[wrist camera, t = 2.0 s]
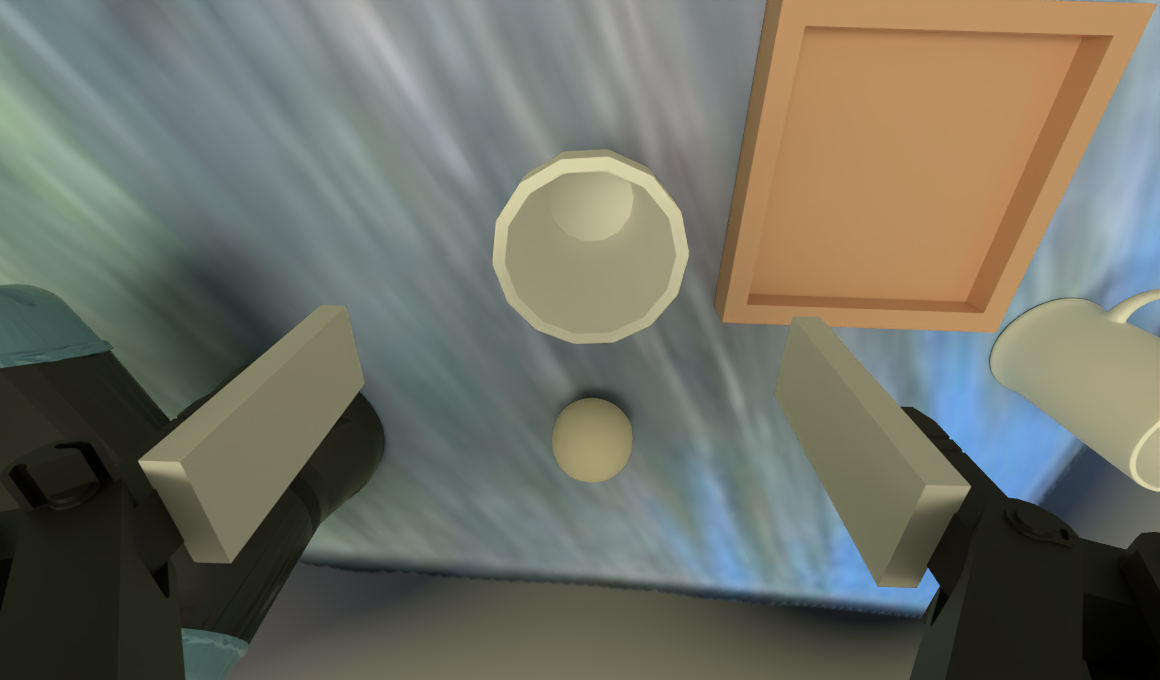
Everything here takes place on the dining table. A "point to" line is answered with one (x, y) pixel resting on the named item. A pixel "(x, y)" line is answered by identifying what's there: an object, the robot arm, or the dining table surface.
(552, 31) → the dining table surface
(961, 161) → the tray
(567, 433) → the beige ball
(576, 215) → the foam cup
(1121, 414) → the mug
